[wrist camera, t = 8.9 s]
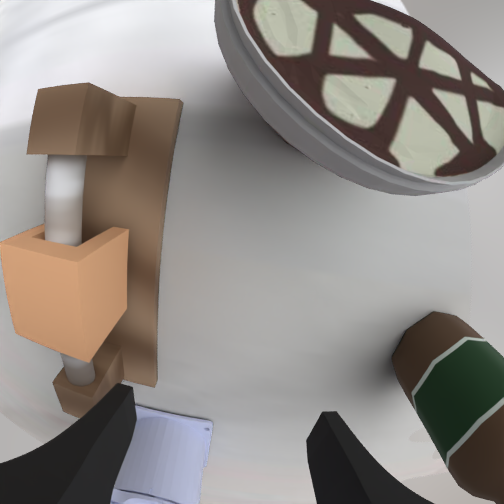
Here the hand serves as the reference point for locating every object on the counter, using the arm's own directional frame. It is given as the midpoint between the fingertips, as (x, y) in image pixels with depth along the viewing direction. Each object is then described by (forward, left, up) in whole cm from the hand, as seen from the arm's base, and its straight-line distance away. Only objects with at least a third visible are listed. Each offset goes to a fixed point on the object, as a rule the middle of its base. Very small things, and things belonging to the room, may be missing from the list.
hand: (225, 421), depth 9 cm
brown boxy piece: (+2, +9, -9) cm, 13 cm away
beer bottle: (-2, -17, -10) cm, 20 cm away
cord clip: (+2, +9, -7) cm, 12 cm away
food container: (+12, -3, -10) cm, 16 cm away
